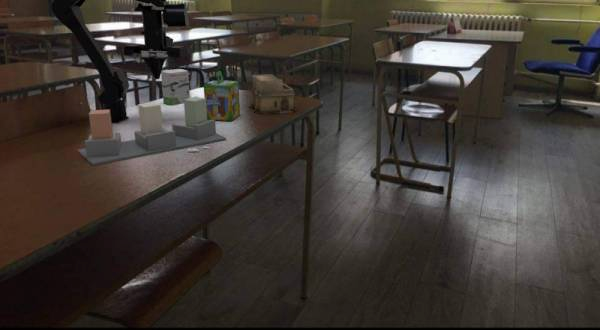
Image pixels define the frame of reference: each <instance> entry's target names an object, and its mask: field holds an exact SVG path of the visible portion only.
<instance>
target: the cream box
mask: <svg viewBox="0 0 600 330" xmlns="http://www.w3.org/2000/svg"><path fill="white" fill-rule="evenodd" d="M137 106H138V107H137V108H138V116H139V126H140V132H142V133H143V134H145V135H148V134H154V133H160V132H163V129H162V128H163V119H162V107H161V106H162V105H161V104H160V103H157V102H154V101H153V102H148V103H140V104H137Z"/></svg>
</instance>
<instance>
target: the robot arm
mask: <svg viewBox="0 0 600 330" xmlns="http://www.w3.org/2000/svg"><path fill="white" fill-rule="evenodd" d="M86 1H87V0H53V1H52V3H51V5H50V10H51V14H53V16H54V17H56V19H57V20H58V21H59V22H60V23H61V24H62V25H63V26H64V27H66V28H67V29H68V30H69V31H70V32H71V33H72V35H73V36H74V38H75V39H76V41H77V42H78V43H79V45H80V47H81V48H82V49H83V51H84V53H85V54H86V56H87V57H88V59H89V60H90V62H91V63H92V65H93V66H94V68H95V70H96V71H97V72H98V75H99V79H100V83H101V85H102V88H103V91H102V92H101V93H100V94H99V95H98V96H97V99H98V101H99V103H100V108H101V109H100V110H110V115H111V123H114V124H115V123H117V124H118V123H121V122H123V121H125V120H127V119H130V117H129V116H127V115H128V114H127V107H126V105H125V100H123V98H124V97H125V94H126V93H127V92H128V90H129V89H130V83H129V80H130V78H128V76H126V74H125V72H124V70H123V69H122V68H121V67H120V68H119V69H116V67H114V66H113V65H112V64H111V61H110V60H109V59H108V57H107V56H106V54H105V52H104V51H103V50H102V48H101V46H100V45H99V44H98V42H97V40H96V39H95V37H94V36H93V33H91V31H90V30H89V28H88V26H87V24H86V22H85V19H84V14H83V12H82V9H81V7H82V6H83V5H84V3H86ZM134 1H136V2H138V4H137V6H136V7H135V8H134V10H133V11H134V12H141V19H142V29H143V30H141V32H140V34H141V36H143V40H144V41H143V42H144V44H134V43H133V44H128V45H127V44H126V45H124V46H123V48H122V54H123V55H122V56H128V57H129V56H131V57H132V56H134V54H141V56H140V60H143V61H144V63H145V64H146V66H147V67H148V68H149V70H150V72H151V74H152V75H153V77H154V79H155V80H159V79H160V78H161V76H162V75H161V71H163V67H164V64H165V62H166V61H167V59H170V58H176V59H177V58H179V59H180V58H183V57H187V56H188V49H187V47H186V46H184V45H174V39H173V38H172V37H170V36H169V35H167V34H166V33H167V32H166V30H165V29H164V27H163V25H167V27H168V28H188V27H189V14H188V11H187V7H186V3H177V4H176V3H174V4H173V3H169V2H168V1H167V0H134ZM145 4H147V5H145ZM148 4H149V5H148ZM151 4H152V5H151ZM160 8H162V9H160Z"/></svg>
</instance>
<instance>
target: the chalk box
mask: <svg viewBox="0 0 600 330" xmlns="http://www.w3.org/2000/svg"><path fill="white" fill-rule="evenodd" d="M215 76H216V77H217V80H213V81H210V82H209V81H207V82H206V83H204V84H203V86H202V87H203V95H204V96H203V98H206V109H207V121H209V120H215V121H226V122H228V121H229V122H233V121H234V120H235V119H236V118H238V117H240V115H241V109H240V108H241V105H240V104H241V103H240V102H241V101H240V81H237V80H236V81H227V80H223V78H224V76H223V74H222V71H221V70H219V71H216V73H215ZM219 77H220V78H221V80H220V79H219Z"/></svg>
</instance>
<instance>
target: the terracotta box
mask: <svg viewBox="0 0 600 330" xmlns="http://www.w3.org/2000/svg"><path fill="white" fill-rule="evenodd" d="M88 118H89V124H90V132H91V133H90V134H91V135H92V140H95V139H111V138H114V134H113V133H114V132H113V126H112V125H113V124H112V123H113V122H111V115H110V110H102V109H95V110H94V109H92V110H90V111H89V113H88Z"/></svg>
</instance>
